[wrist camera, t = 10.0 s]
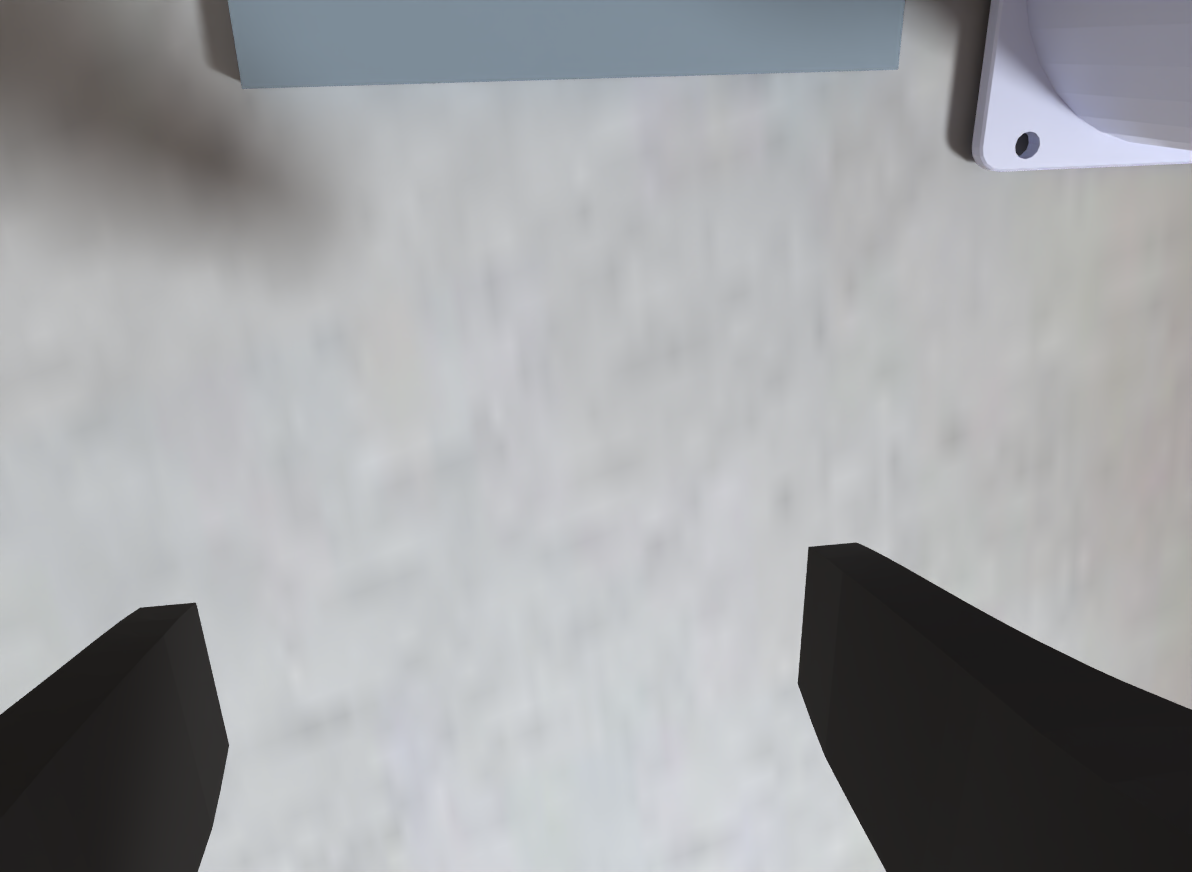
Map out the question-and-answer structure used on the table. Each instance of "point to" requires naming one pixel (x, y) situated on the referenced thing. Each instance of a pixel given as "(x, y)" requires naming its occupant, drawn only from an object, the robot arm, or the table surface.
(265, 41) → the dock
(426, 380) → the table surface
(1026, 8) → the robot arm
